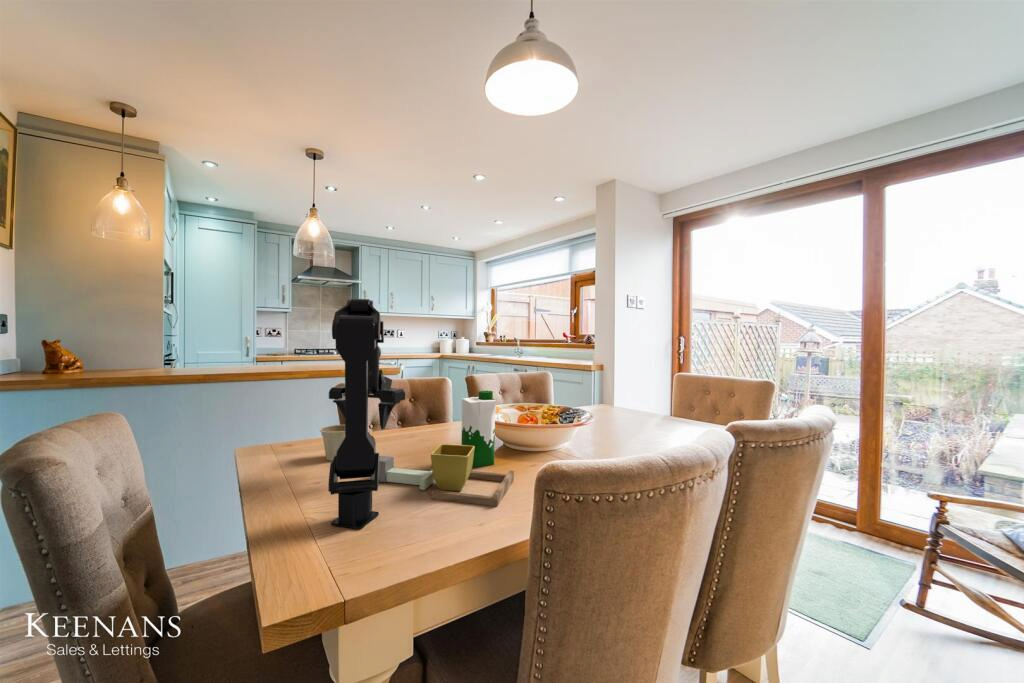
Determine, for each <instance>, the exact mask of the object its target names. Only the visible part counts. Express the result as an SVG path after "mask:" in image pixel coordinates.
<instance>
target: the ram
mask: <svg viewBox="0 0 1024 683" xmlns="http://www.w3.org/2000/svg"><path fill="white" fill-rule="evenodd" d="M394 457H395V456H388V455H387V456H386V455H379V482H381V483H386V482H388V483H397V484H407V485H415V486H419V490H422V491H425V490H426V489H427V488H428V487H430V486H431V485H432V484H433V483H435V480H434V477H433V472H432V469H431V470H430V471H429V470H418V469H407V468H399V467H394V466H395V465H394V464H395V461H394V459H395V458H394ZM369 478H370V479H375V471H374V474H373V476H372V477H369ZM370 479H369V480H370Z"/></svg>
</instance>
